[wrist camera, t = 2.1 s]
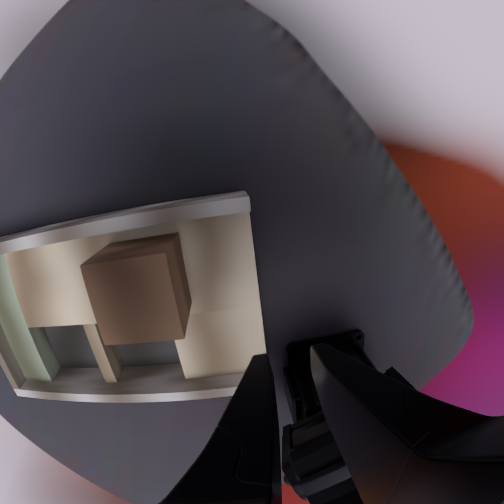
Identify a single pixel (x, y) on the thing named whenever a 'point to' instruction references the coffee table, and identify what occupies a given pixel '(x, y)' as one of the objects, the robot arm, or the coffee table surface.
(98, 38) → the coffee table surface
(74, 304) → the grey slotted tray
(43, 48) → the coffee table surface
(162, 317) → the walnut block
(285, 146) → the coffee table surface
